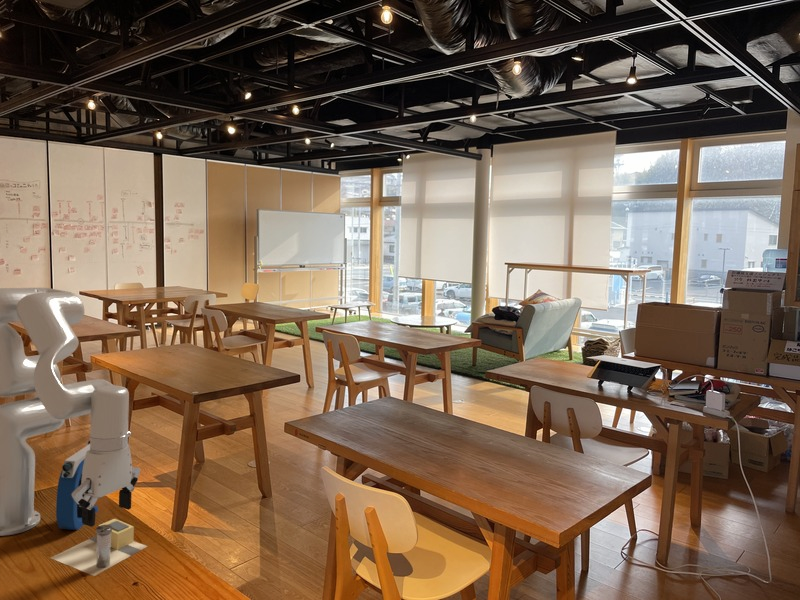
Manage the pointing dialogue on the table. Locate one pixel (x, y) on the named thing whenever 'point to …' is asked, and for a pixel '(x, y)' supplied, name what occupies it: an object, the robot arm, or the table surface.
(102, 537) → the steel pin
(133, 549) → the white square mat
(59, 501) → the handheld scanner
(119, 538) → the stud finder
